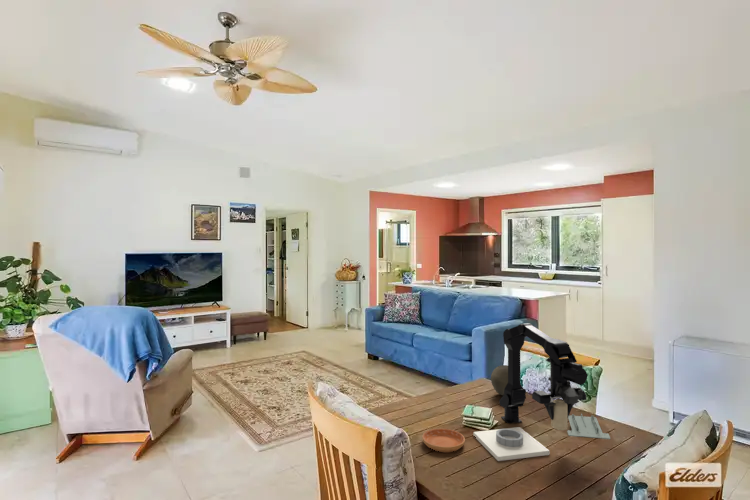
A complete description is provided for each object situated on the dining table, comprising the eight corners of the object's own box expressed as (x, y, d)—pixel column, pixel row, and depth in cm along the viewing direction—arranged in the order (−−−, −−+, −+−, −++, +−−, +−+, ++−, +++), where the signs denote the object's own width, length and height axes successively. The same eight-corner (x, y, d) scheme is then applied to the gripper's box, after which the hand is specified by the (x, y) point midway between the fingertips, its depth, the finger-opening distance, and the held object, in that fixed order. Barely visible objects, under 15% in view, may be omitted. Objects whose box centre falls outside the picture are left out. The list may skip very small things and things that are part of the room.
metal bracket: (562, 409, 177) (601, 412, 173) (561, 421, 178) (600, 424, 175) (569, 433, 163) (611, 437, 160) (568, 446, 165) (610, 449, 162)
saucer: (439, 431, 170) (439, 424, 170) (473, 444, 159) (473, 436, 159) (413, 445, 159) (413, 437, 159) (448, 460, 148) (448, 451, 148)
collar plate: (473, 435, 166) (473, 425, 166) (519, 430, 170) (519, 420, 170) (497, 461, 146) (497, 449, 146) (549, 454, 150) (549, 443, 150)
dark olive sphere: (488, 390, 216) (488, 361, 216) (516, 391, 215) (516, 362, 215) (493, 400, 202) (493, 369, 202) (523, 401, 201) (523, 370, 201)
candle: (566, 431, 150) (566, 403, 150) (550, 428, 153) (549, 400, 153) (568, 426, 155) (568, 399, 155) (552, 422, 158) (552, 396, 158)
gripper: (549, 385, 144) (549, 430, 144) (596, 381, 148) (597, 425, 148) (531, 375, 155) (531, 417, 155) (575, 372, 159) (576, 413, 159)
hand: (559, 418), depth 154 cm, fingers closed on candle, 5 cm apart
